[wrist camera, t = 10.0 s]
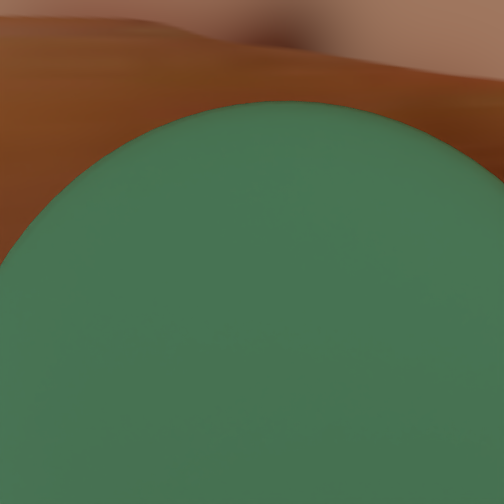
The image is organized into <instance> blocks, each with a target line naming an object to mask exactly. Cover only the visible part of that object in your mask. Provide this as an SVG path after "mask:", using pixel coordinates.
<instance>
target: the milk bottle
mask: <svg viewBox="0 0 504 504" xmlns="http://www.w3.org/2000/svg"><path fill="white" fill-rule="evenodd" d="M0 504H504V183H503V182H502V181H501V180H499V179H498V178H497V177H496V176H495V175H493V174H492V173H491V172H489V171H488V170H486V169H485V168H484V167H482V166H481V165H480V164H478V163H477V162H476V161H474V160H473V159H471V158H470V157H468V156H466V155H465V154H463V153H462V152H460V151H458V150H457V149H455V148H453V147H452V146H450V145H449V144H447V143H445V142H443V141H441V140H439V139H437V138H435V137H433V136H431V135H429V134H427V133H425V132H423V131H421V130H418V129H416V128H414V127H411V126H409V125H406V124H404V123H402V122H399V121H396V120H393V119H390V118H387V117H384V116H381V115H378V114H375V113H371V112H367V111H363V110H358V109H354V108H350V107H345V106H339V105H332V104H325V103H317V102H302V101H264V102H255V103H246V104H237V105H232V106H227V107H222V108H217V109H212V110H207V111H204V112H201V113H197V114H194V115H190V116H187V117H184V118H181V119H178V120H175V121H173V122H170V123H168V124H165V125H163V126H160V127H158V128H155V129H153V130H151V131H149V132H147V133H145V134H143V135H141V136H139V137H137V138H135V139H133V140H131V141H129V142H127V143H126V144H124V145H122V146H121V147H119V148H118V149H116V150H114V151H113V152H111V153H110V154H108V155H106V156H105V157H103V158H102V159H100V160H99V161H98V162H96V163H95V164H94V165H92V166H91V167H90V168H88V169H87V170H86V171H84V172H83V173H82V174H80V175H79V176H78V177H76V178H75V179H74V180H73V181H72V182H71V183H70V184H69V185H68V186H67V187H65V188H64V189H63V190H62V191H61V192H60V193H59V194H58V195H57V196H56V197H54V198H53V199H52V200H51V202H50V203H49V204H48V205H47V206H46V207H45V208H44V209H43V210H42V211H41V212H40V214H39V215H38V216H37V217H36V218H35V219H34V220H33V221H32V222H31V223H30V225H29V226H28V227H27V229H26V230H25V231H24V233H23V234H22V235H21V237H20V238H19V239H18V241H17V242H16V243H15V244H14V246H13V247H12V248H11V250H10V251H9V253H8V254H7V256H6V258H5V259H4V261H3V262H2V264H1V266H0Z"/></svg>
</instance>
